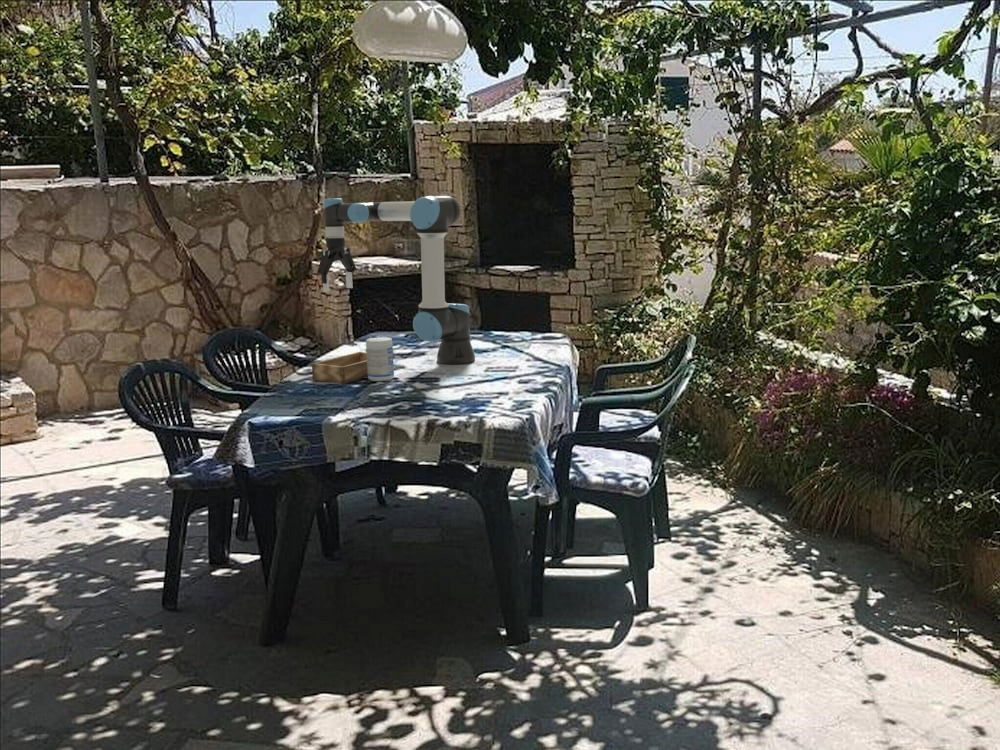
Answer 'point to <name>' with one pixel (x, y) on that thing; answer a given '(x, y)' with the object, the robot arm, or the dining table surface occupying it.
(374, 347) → the supplement tub
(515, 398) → the dining table surface
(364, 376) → the walled box
